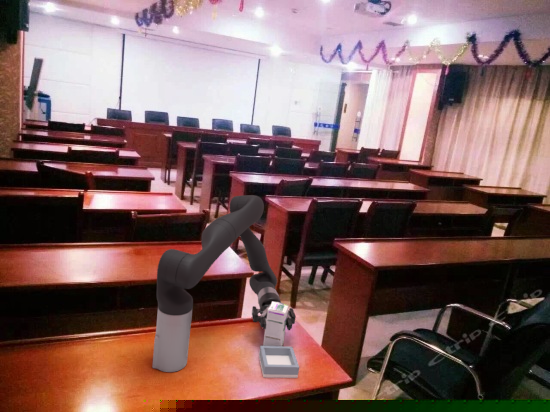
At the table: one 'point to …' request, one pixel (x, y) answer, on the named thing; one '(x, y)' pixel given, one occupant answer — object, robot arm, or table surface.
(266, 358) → the collar plate
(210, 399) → the table surface
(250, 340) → the table surface
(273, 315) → the syrup box
